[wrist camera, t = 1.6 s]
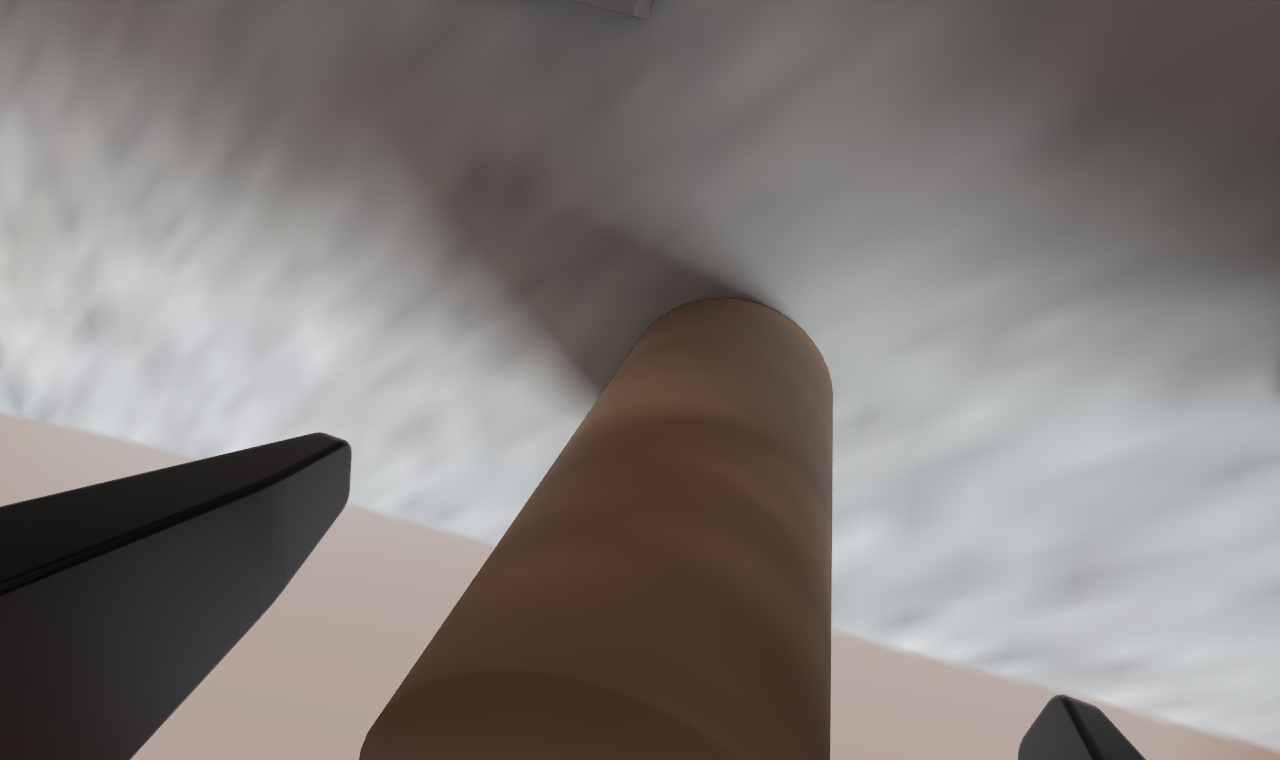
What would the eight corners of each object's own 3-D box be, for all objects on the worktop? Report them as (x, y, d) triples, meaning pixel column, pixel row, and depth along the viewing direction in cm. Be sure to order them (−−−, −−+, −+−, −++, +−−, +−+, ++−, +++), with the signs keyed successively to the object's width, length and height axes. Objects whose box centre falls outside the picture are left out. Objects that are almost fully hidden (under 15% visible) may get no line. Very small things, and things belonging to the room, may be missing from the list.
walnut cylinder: (865, 335, 13) (914, 802, 5) (793, 513, 15) (743, 1068, 7) (650, 271, 13) (369, 596, 5) (606, 450, 15) (347, 896, 7)
